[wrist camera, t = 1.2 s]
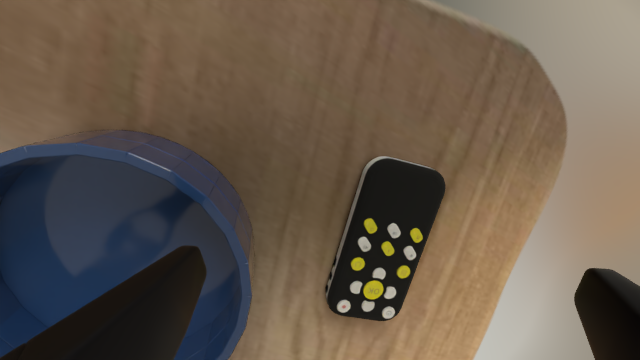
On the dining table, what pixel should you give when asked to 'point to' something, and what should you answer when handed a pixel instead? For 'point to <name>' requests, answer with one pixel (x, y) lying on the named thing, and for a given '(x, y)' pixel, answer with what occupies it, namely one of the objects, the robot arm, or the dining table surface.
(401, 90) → the dining table surface
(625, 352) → the robot arm
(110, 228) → the pot
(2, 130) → the dining table surface
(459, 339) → the dining table surface
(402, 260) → the remote control
